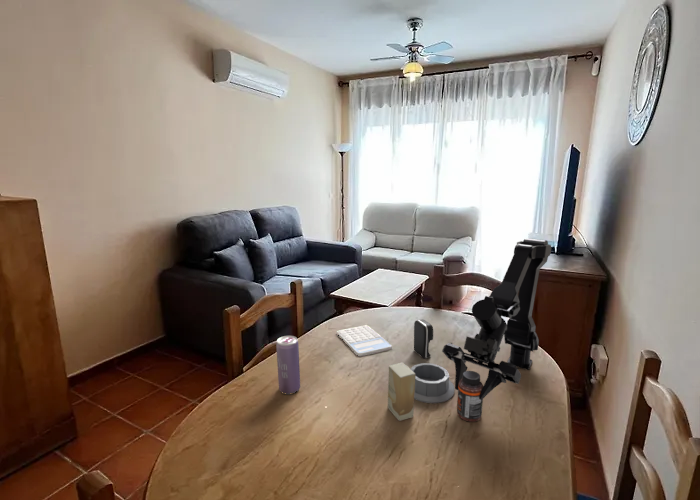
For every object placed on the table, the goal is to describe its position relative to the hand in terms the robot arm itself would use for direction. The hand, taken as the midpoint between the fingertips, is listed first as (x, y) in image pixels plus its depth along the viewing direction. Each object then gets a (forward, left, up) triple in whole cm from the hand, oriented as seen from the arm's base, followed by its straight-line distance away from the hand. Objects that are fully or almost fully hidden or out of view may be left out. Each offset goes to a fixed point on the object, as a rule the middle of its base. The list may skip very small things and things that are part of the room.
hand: (467, 394), depth 94 cm
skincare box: (+7, -15, -7) cm, 18 cm away
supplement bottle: (-1, 0, -7) cm, 7 cm away
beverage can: (+14, -46, -7) cm, 48 cm away
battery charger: (-25, -22, -7) cm, 34 cm away
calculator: (-23, -44, -7) cm, 50 cm away
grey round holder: (-7, -13, -7) cm, 16 cm away
